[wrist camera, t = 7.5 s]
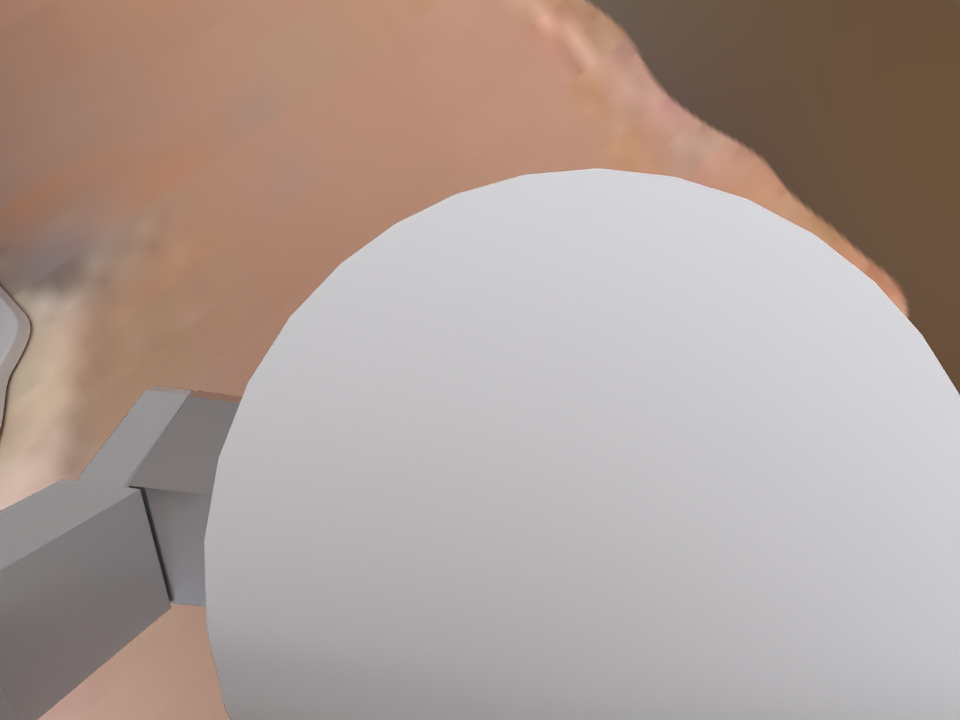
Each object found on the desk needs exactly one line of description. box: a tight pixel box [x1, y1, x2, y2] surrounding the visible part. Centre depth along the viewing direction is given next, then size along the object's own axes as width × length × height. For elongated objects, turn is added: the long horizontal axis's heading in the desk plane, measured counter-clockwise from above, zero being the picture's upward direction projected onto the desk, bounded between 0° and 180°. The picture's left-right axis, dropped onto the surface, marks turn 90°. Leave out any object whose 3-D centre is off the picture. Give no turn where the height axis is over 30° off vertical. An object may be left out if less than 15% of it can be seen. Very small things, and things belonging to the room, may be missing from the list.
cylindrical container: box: [204, 168, 960, 720], centre depth 19 cm, size 7×7×25 cm
